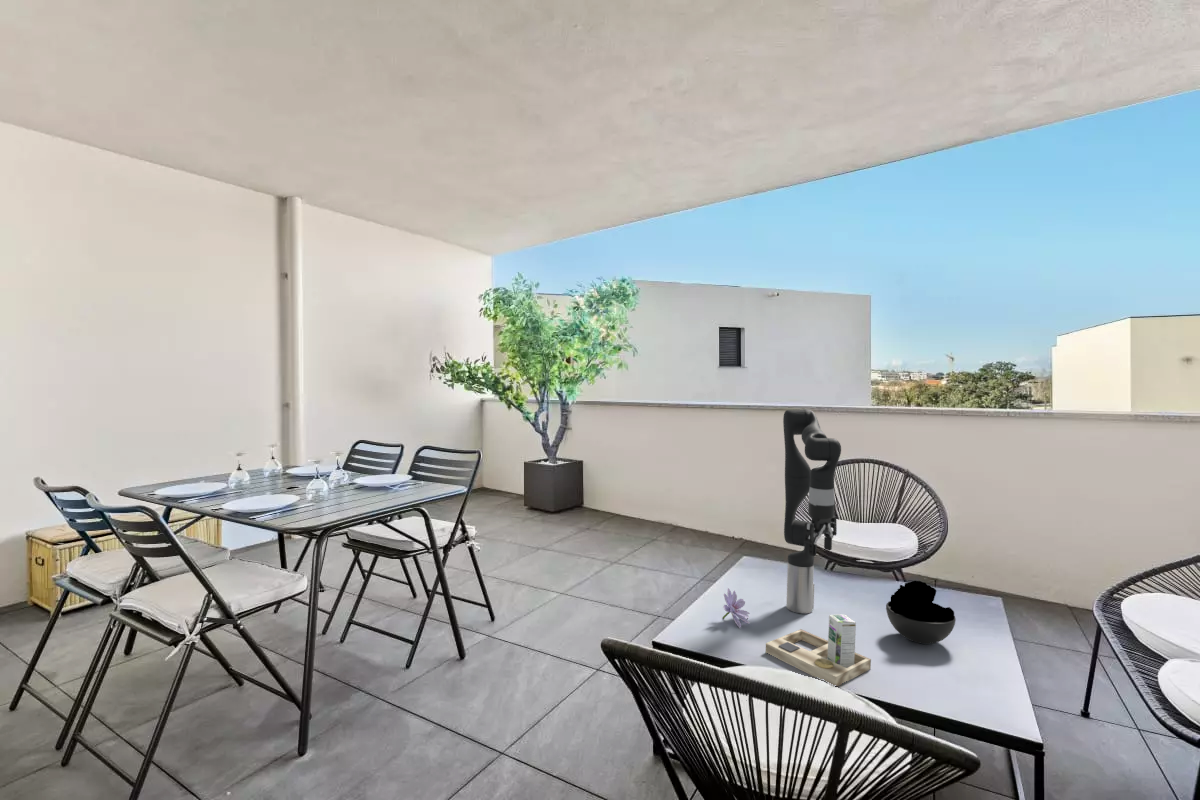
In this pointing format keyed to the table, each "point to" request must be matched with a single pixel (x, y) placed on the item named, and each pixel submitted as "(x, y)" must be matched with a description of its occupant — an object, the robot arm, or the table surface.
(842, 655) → the syrup box
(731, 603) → the water lily
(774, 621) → the table surface
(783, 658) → the socket block
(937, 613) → the bowl of black rocks
